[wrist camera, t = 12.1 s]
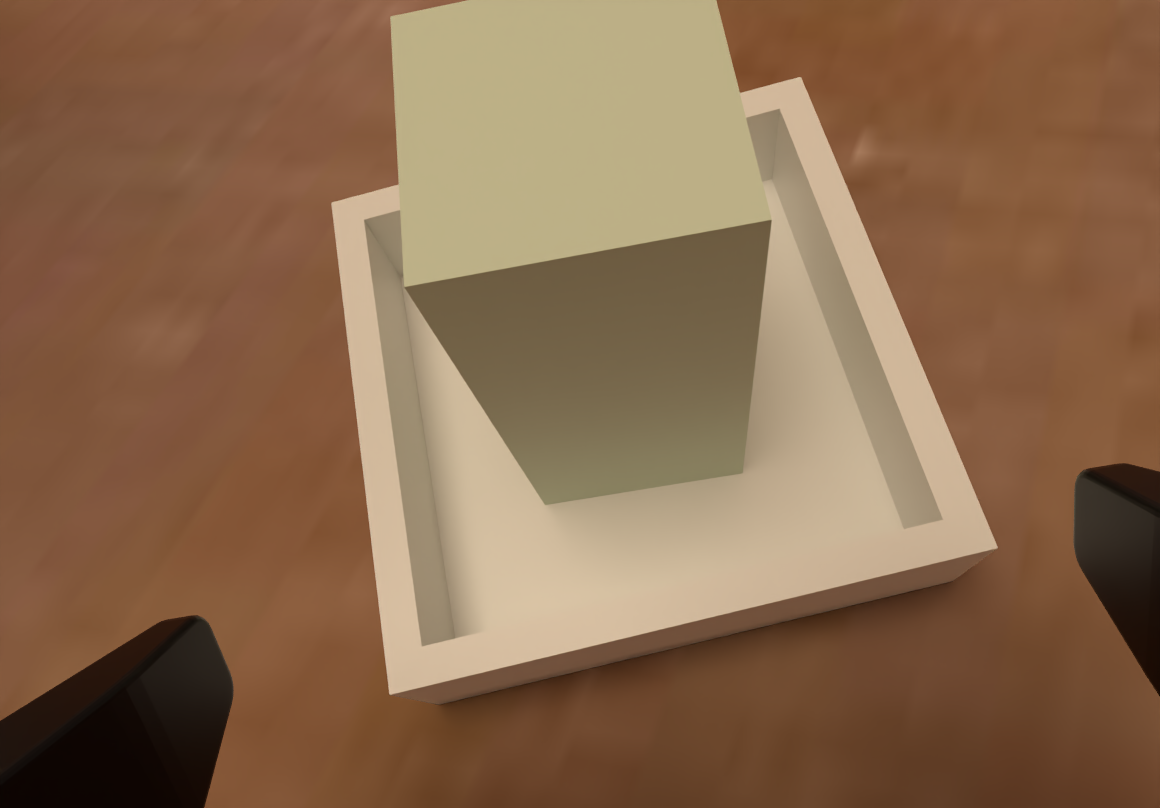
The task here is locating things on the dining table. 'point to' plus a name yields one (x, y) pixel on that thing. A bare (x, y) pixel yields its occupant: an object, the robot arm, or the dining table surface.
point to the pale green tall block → (586, 231)
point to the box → (668, 513)
